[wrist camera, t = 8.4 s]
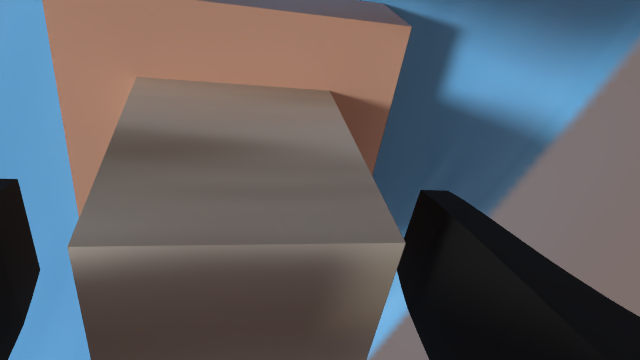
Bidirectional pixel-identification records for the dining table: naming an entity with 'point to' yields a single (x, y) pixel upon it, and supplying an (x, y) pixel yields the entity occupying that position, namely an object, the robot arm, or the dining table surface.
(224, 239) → the ash block
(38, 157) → the dining table surface
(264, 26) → the terracotta base
